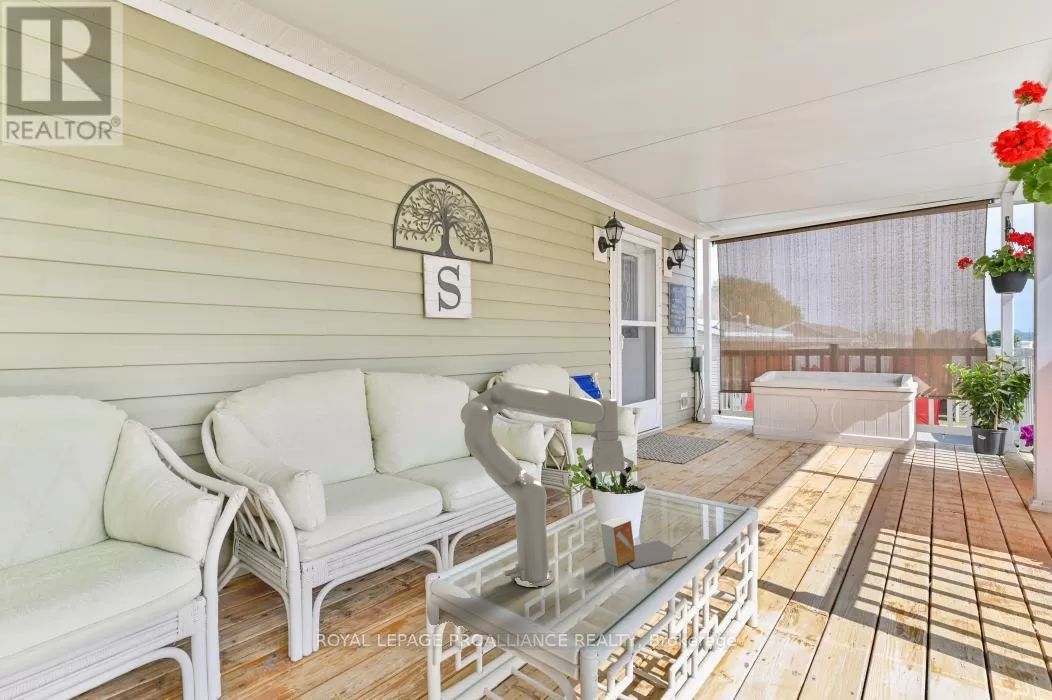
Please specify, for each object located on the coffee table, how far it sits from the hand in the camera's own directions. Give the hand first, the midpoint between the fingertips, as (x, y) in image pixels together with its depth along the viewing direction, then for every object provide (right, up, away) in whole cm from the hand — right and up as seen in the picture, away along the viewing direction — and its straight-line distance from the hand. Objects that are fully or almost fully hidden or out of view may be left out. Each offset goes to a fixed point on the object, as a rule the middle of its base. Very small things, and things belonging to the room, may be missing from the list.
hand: (608, 488), depth 167 cm
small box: (+4, -24, 0) cm, 25 cm away
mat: (+14, -24, +5) cm, 28 cm away
